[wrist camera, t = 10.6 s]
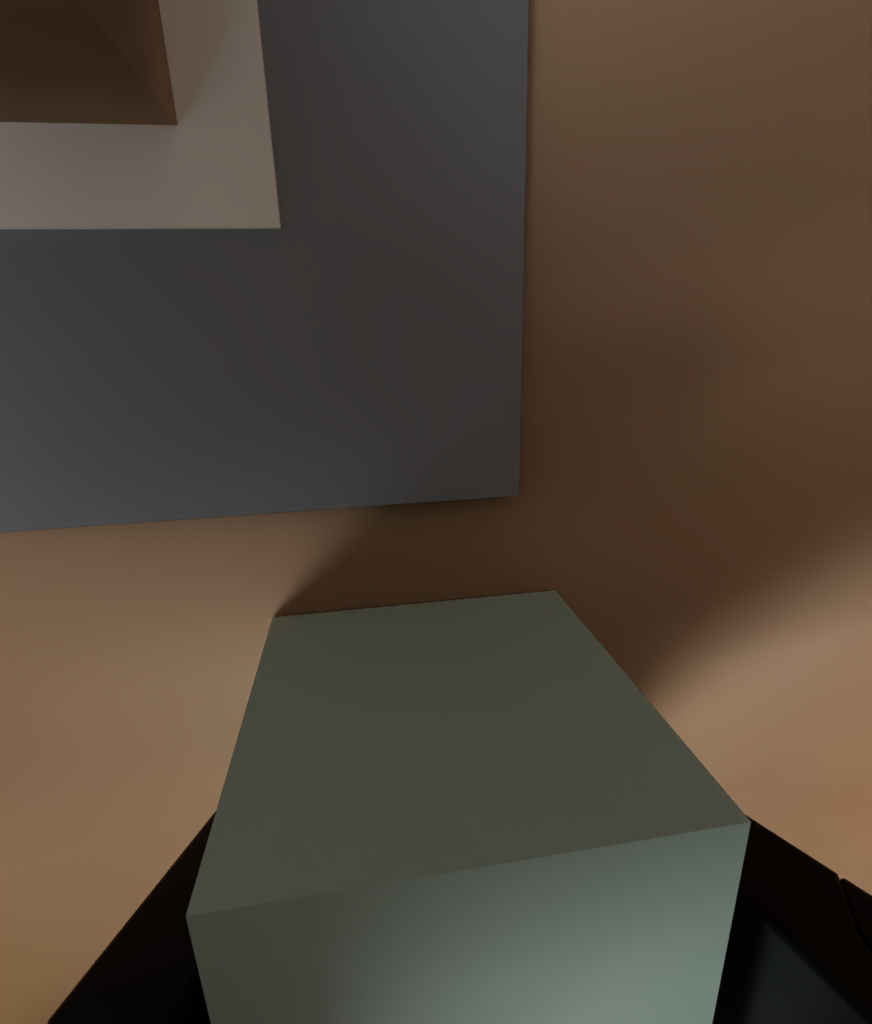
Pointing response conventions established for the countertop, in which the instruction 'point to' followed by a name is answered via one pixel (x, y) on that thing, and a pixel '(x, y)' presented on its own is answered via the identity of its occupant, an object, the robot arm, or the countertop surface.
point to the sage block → (461, 831)
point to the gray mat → (273, 272)
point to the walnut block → (84, 62)
